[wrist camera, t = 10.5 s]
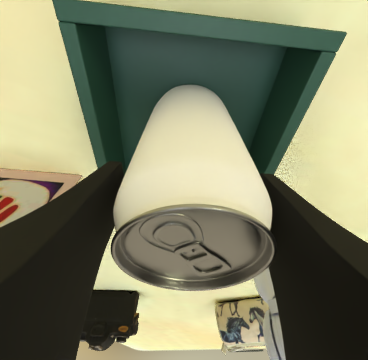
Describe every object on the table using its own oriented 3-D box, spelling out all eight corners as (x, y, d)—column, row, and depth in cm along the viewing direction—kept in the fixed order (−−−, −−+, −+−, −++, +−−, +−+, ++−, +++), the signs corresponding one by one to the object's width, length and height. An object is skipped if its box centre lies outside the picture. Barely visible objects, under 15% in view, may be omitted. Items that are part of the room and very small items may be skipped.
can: (204, 62, 13) (249, 148, 3) (239, 134, 16) (309, 274, 7) (136, 113, 15) (53, 245, 6) (179, 166, 18) (171, 303, 9)
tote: (241, 184, 21) (252, 216, 17) (121, 175, 20) (107, 206, 16) (300, 31, 12) (348, 32, 8) (93, 7, 11) (50, -4, 8)
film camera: (97, 307, 50) (81, 357, 42) (66, 291, 43) (40, 347, 35) (156, 301, 46) (150, 354, 39) (133, 282, 39) (120, 344, 31)
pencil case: (219, 308, 50) (225, 358, 42) (211, 298, 44) (216, 352, 37) (306, 299, 44) (331, 354, 37) (308, 287, 39) (337, 347, 32)
